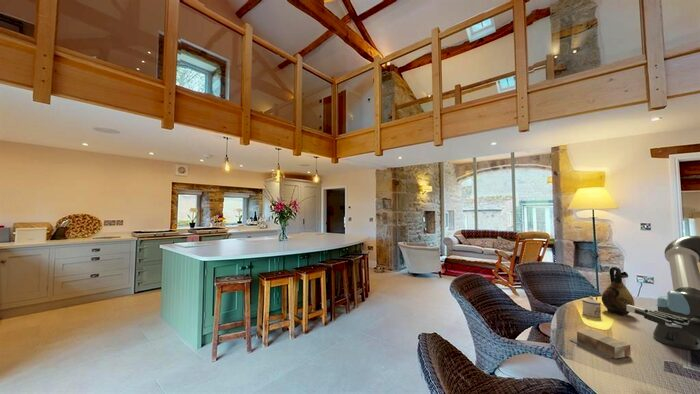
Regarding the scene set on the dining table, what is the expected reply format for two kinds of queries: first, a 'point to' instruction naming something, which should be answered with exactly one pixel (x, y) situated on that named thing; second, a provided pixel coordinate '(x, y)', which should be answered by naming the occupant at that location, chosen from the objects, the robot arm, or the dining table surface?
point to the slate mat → (590, 348)
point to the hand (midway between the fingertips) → (627, 307)
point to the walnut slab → (604, 343)
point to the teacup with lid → (591, 307)
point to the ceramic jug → (617, 294)
